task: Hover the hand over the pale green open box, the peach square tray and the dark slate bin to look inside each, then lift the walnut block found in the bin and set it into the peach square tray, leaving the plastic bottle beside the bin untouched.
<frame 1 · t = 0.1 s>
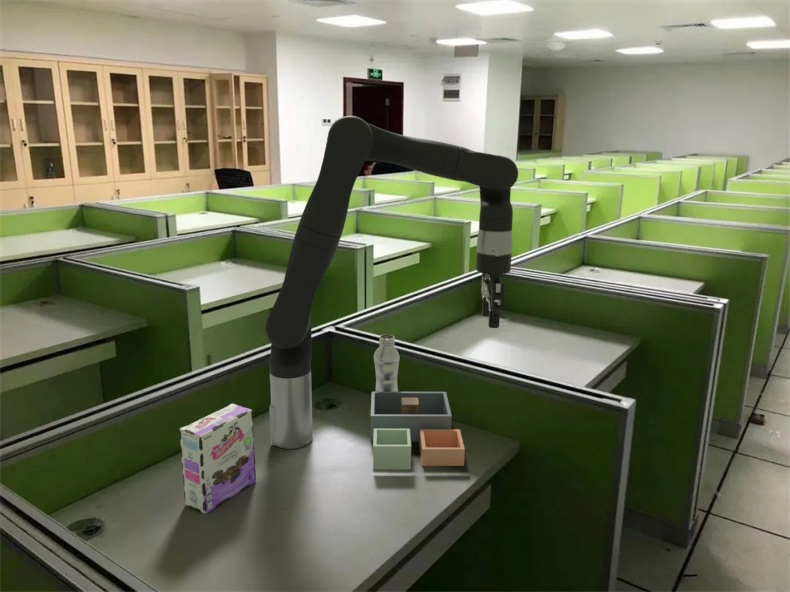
hand: (490, 321, 139), 29 cm above the table, tool pointing down, fingers open, 8 cm apart
slate bin: (409, 429, 151), on the table
walnut block: (409, 427, 151), point 1 cm above the table, touching slate bin
pale green open box: (391, 461, 137), on the table
peach square tray: (440, 457, 139), on the table
candy box: (222, 494, 125), on the table
plastic bottle: (386, 410, 162), on the table
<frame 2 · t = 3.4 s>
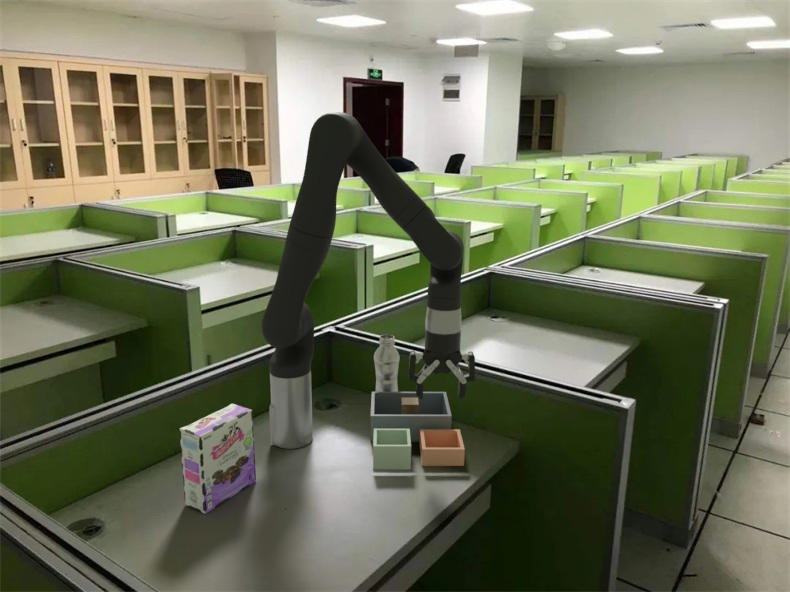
hand: (440, 397, 136), 14 cm above the table, tool pointing down, fingers open, 8 cm apart
nothing on the table moved.
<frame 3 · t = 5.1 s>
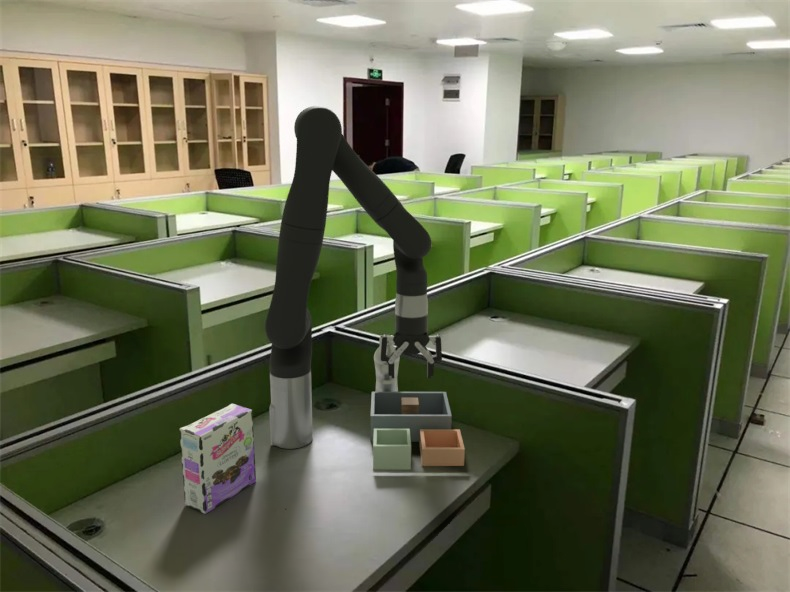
hand: (410, 377, 148), 14 cm above the table, tool pointing down, fingers open, 8 cm apart
nothing on the table moved.
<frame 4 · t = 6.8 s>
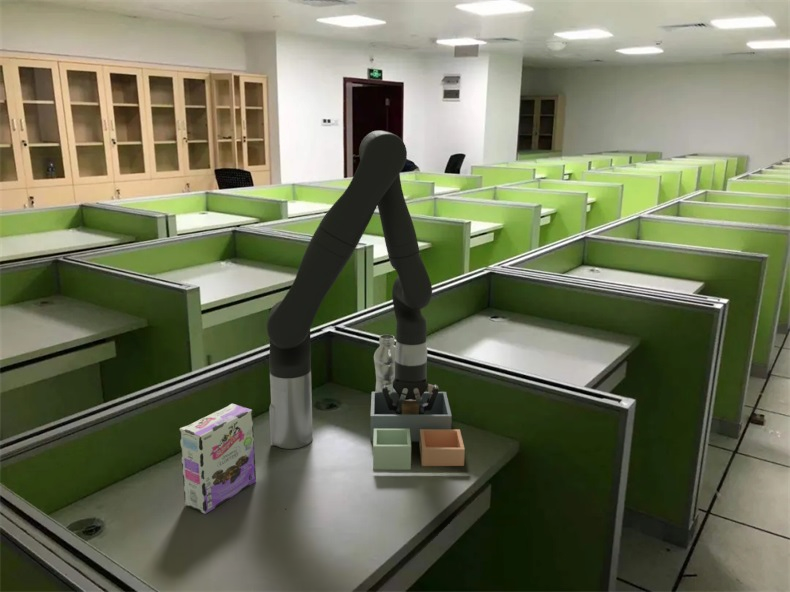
hand: (409, 424, 151), 1 cm above the table, tool pointing down, fingers closed on walnut block, 4 cm apart
walnut block: (409, 427, 151), point 1 cm above the table, touching gripper, slate bin
everything else where it was.
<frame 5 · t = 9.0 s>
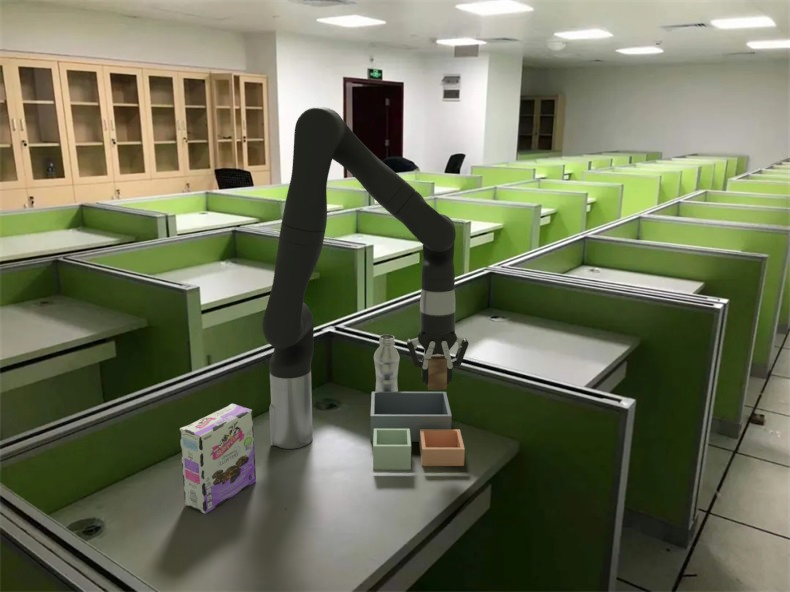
hand: (436, 382, 138), 16 cm above the table, tool pointing down, fingers closed on walnut block, 4 cm apart
walnut block: (436, 385, 138), point 16 cm above the table, touching gripper
everything else where it was.
when the fingers open (5 cm above the table, at t = 11.5 s): walnut block drops 4 cm, resting on peach square tray.
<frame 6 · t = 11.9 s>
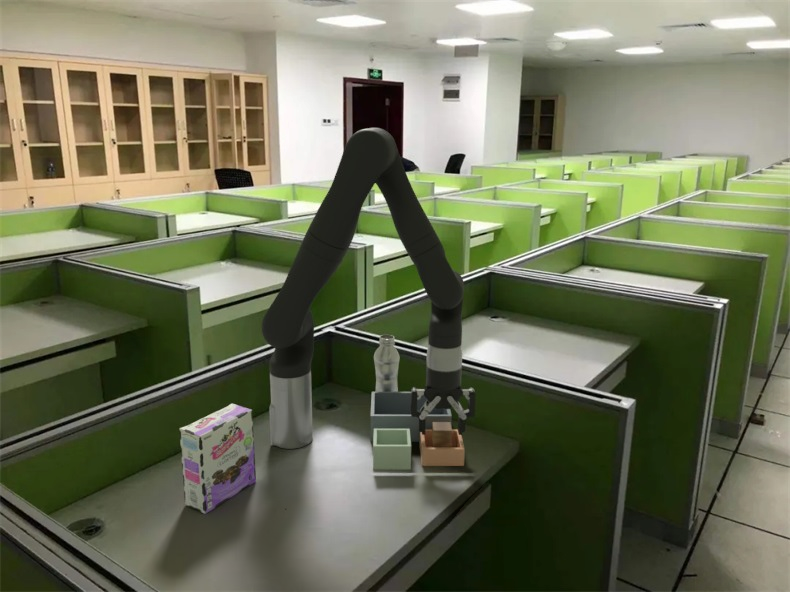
hand: (441, 433, 137), 6 cm above the table, tool pointing down, fingers open, 7 cm apart
walnut block: (441, 454, 139), point 1 cm above the table, touching peach square tray
everything else where it was.
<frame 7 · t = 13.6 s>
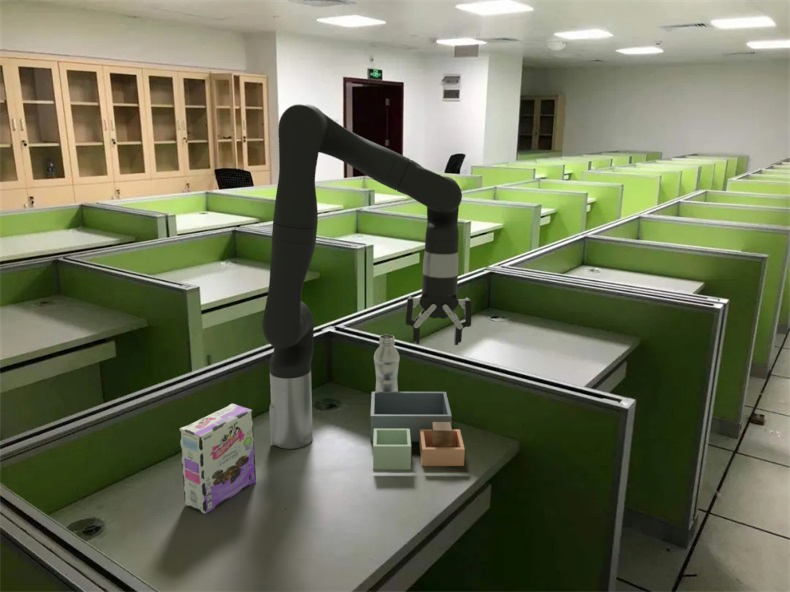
hand: (436, 343, 138), 25 cm above the table, tool pointing down, fingers open, 8 cm apart
nothing on the table moved.
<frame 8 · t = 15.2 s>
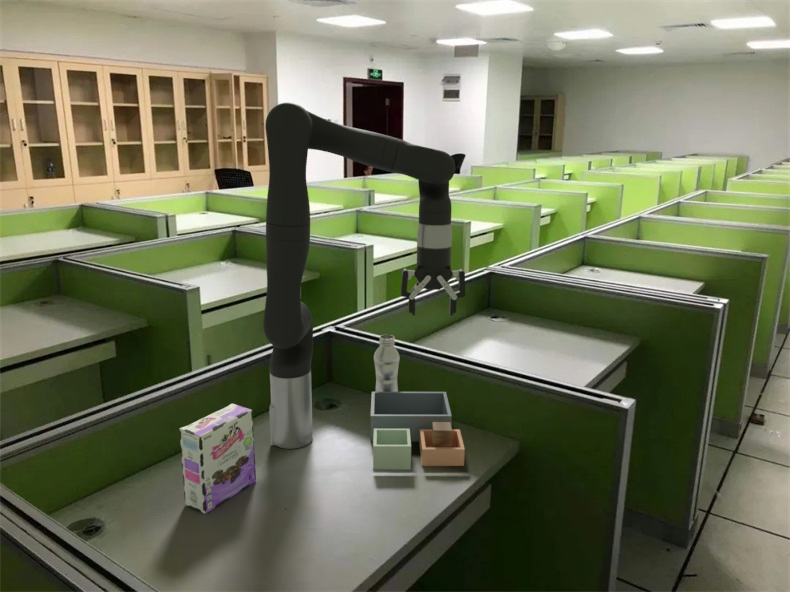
hand: (432, 314, 141), 30 cm above the table, tool pointing down, fingers open, 8 cm apart
nothing on the table moved.
at the end: walnut block 0.0 cm off-centre on the peach square tray, point 0.6 cm above the peach square tray's base; the gripper is holding nothing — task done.
